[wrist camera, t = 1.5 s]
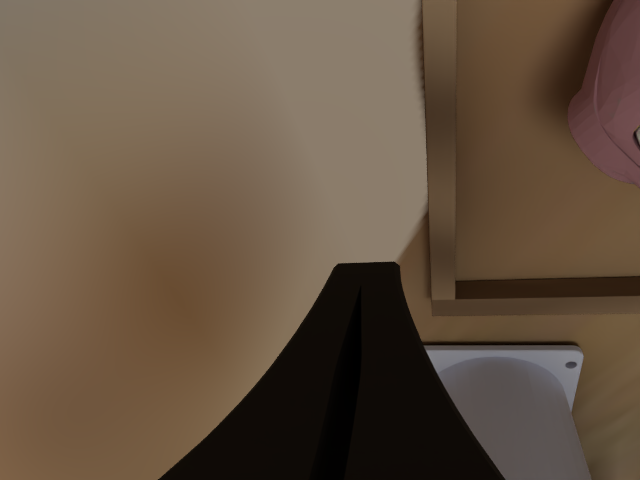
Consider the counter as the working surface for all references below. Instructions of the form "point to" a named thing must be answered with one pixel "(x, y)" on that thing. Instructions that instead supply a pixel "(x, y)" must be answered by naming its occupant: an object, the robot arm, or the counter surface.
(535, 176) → the counter surface
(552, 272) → the counter surface
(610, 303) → the shallow wooden tray
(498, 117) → the counter surface
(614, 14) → the video game controller
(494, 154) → the counter surface
